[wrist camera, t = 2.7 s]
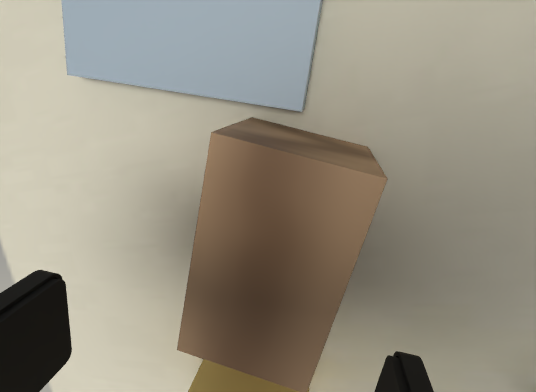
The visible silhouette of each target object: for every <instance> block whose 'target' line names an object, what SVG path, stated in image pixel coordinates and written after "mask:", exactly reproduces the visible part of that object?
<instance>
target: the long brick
mask: <svg viewBox="0 0 536 392" xmlns="http://www.w3.org/2000/svg"><path fill="white" fill-rule="evenodd" d="M386 181H387V177H386V176H385V174H384V172H383V171H382V169H381V167H380V166H379V164H378V163H377V161H376V159H375V158H374V156H373V154H372V153H371V151H370V149H369V148H368V147H366V146H362V145H358V144H354V143H350V142H346V141H342V140H338V139H334V138H330V137H326V136H323V135H319V134H315V133H311V132H307V131H303V130H299V129H295V128H291V127H287V126H283V125H280V124H276V123H272V122H268V121H264V120H260V119H256V118H249V119H246V120H243V121H241V122H238V123H235V124H232V125H230V126H227V127H224V128H222V129H219V130H216V131H213V132H211V138H210V144H209V150H208V157H207V163H206V169H205V176H204V182H203V188H202V195H201V201H200V207H199V214H198V220H197V226H196V233H195V239H194V245H193V252H192V258H191V264H190V271H189V277H188V283H187V290H186V296H185V302H184V309H183V315H182V321H181V328H180V334H179V340H178V347H177V350H179V351H182V352H185V353H188V354H191V355H193V356H196V357H199V358H202V359H205V360H208V361H211V362H214V363H217V364H220V365H223V366H226V367H229V368H231V369H234V370H237V371H240V372H243V373H246V374H249V375H252V376H255V377H258V378H261V379H264V380H267V381H269V382H272V383H275V384H278V385H281V386H284V387H287V388H290V389H293V390H296V391H299V392H307V390H308V388H309V385H310V383H311V380H312V377H313V375H314V372H315V369H316V367H317V364H318V361H319V359H320V356H321V353H322V351H323V348H324V345H325V343H326V340H327V338H328V335H329V332H330V330H331V327H332V324H333V322H334V319H335V316H336V314H337V311H338V308H339V306H340V303H341V301H342V298H343V295H344V293H345V290H346V287H347V285H348V282H349V279H350V277H351V274H352V271H353V269H354V266H355V263H356V261H357V258H358V256H359V253H360V250H361V248H362V245H363V242H364V240H365V237H366V234H367V232H368V229H369V226H370V224H371V221H372V218H373V216H374V213H375V211H376V208H377V205H378V203H379V200H380V197H381V195H382V192H383V189H384V187H385V184H386Z"/></svg>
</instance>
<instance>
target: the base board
mask: <svg viewBox="0 0 536 392" xmlns="http://www.w3.org/2000/svg"><path fill="white" fill-rule="evenodd" d="M322 1H323V0H62V12H63V25H64V38H65V51H66V64H67V75H72V76H78V77H85V78H91V79H97V80H104V81H110V82H116V83H123V84H129V85H135V86H142V87H148V88H155V89H161V90H167V91H174V92H180V93H186V94H193V95H199V96H205V97H212V98H218V99H224V100H231V101H237V102H243V103H250V104H256V105H263V106H269V107H275V108H282V109H288V110H294V111H301V112H302V111H303V110H304V107H305V101H306V95H307V89H308V83H309V77H310V72H311V66H312V60H313V54H314V48H315V42H316V36H317V31H318V25H319V19H320V13H321V7H322Z"/></svg>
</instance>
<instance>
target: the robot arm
mask: <svg viewBox="0 0 536 392" xmlns="http://www.w3.org/2000/svg"><path fill="white" fill-rule="evenodd" d="M71 352H72V347H71V336H70V326H69V315H68V304H67V293H66V284H65V282H64V281H63V280H62V277H61V275H59V274H56V273H52V272H48V271H43V270H37V271H35V272H33V273H31V274H30V275H28V276H27V277H25V278H23V279H22V280H20V281H19V282H17V283H16V284H14V285H12V286H11V287H9V288H8V289H6V290H5V291H3V292H2V293H0V392H39V391H40V390H41V389H42V388H43V387H44V386H45V385H46V384H47V383H48V382H49V381H50V380H51V379H52V378H53V376H54V375H55V374H56V373H57V372H58V371H59V370H60V369H61V368H62V367H63V366H64V365H65V364H66V362H67V361H68V359H69V358H70V355H71ZM375 392H434V391H433V388H432V386H431V383H430V380H429V378H428V375H427V372H426V369H425V367H424V364H423V361H422V359H421V358H420V357H419V356H416V355H411V354H407V353H402V352H398V351H396V352H395V353H394V355H393V356H389V355H388V356H387V358H386V360H385V363H384V366H383V369H382V372H381V375H380V377H379V380H378V383H377V386H376V389H375Z"/></svg>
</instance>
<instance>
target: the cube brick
mask: <svg viewBox="0 0 536 392" xmlns="http://www.w3.org/2000/svg"><path fill="white" fill-rule="evenodd" d="M188 392H299V391H296V390H293V389H290V388H287V387H284V386H281V385H278V384H275V383H272V382H269V381H267V380H264V379H261V378H258V377H255V376H252V375H249V374H246V373H243V372H240V371H237V370H234V369H231V368H229V367H226V366H223V365H220V364H217V363H214V362H211V361H208V360H205V359H203V361H202V364H201V366H200V368H199V370H198V372H197V374H196V376H195V378H194V380H193V382H192V385H191V387H190V389H189V391H188ZM307 392H309V388H308V390H307Z"/></svg>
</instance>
